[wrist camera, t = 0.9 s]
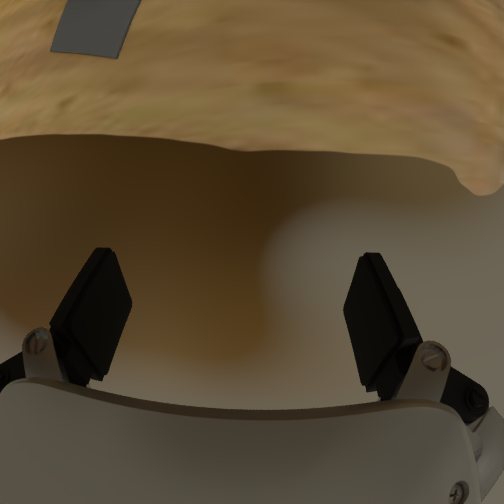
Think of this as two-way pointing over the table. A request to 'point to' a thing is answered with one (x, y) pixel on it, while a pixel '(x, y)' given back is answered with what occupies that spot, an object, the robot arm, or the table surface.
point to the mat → (94, 26)
